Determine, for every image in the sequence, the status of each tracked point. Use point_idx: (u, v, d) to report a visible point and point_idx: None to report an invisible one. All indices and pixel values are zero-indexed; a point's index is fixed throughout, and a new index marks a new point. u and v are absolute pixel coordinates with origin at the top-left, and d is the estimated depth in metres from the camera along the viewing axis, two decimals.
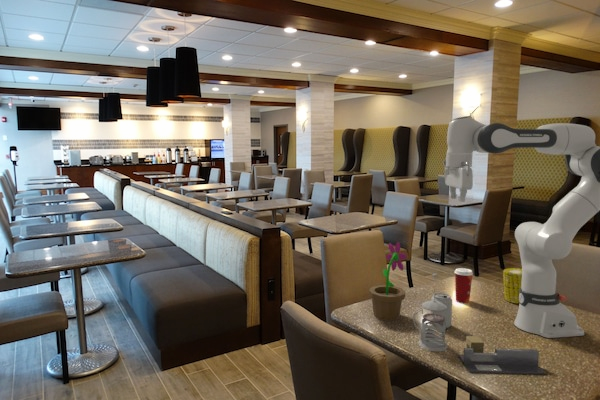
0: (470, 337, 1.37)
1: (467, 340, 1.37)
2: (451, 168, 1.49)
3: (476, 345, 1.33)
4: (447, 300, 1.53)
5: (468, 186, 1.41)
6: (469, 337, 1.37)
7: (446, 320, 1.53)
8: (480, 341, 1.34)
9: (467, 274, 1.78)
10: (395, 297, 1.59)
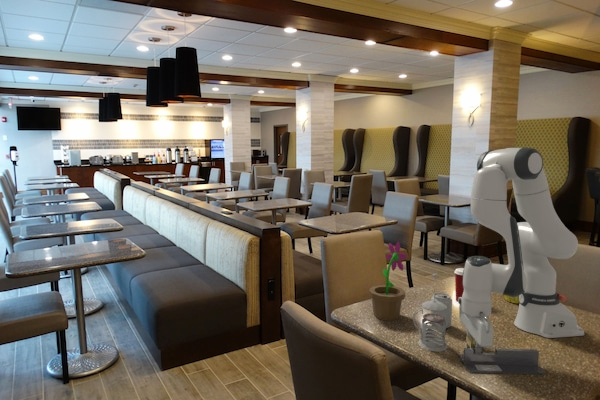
0: (470, 337, 1.37)
1: (467, 340, 1.37)
2: (468, 314, 1.34)
3: None
4: (447, 300, 1.53)
5: (488, 344, 1.25)
6: (469, 337, 1.37)
7: (446, 320, 1.53)
8: None
9: None
10: (395, 297, 1.59)
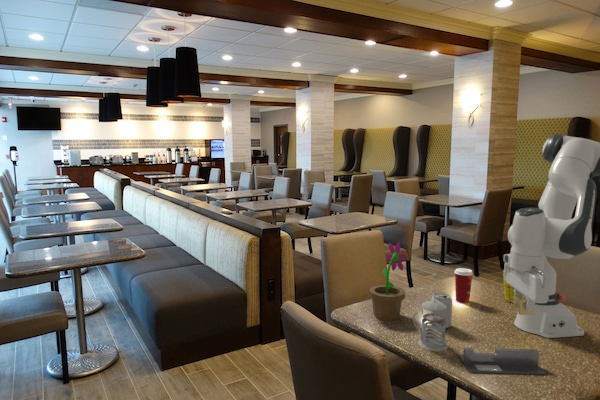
0: (518, 296, 1.26)
1: (515, 299, 1.26)
2: (517, 270, 1.23)
3: None
4: (447, 300, 1.53)
5: (543, 299, 1.15)
6: (517, 296, 1.26)
7: (446, 320, 1.53)
8: None
9: (467, 274, 1.78)
10: (395, 297, 1.59)
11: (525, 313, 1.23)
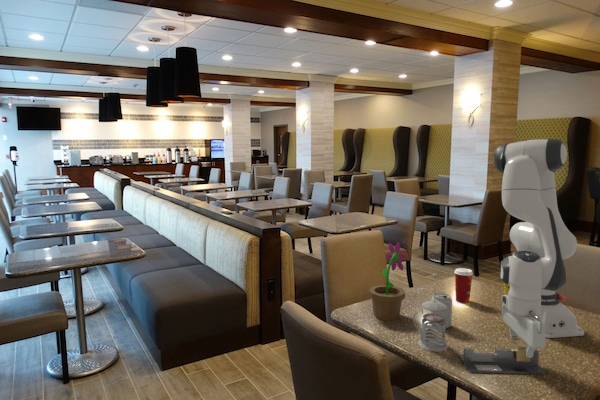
0: (515, 341, 1.28)
1: (512, 344, 1.28)
2: (515, 313, 1.25)
3: (523, 350, 1.25)
4: (447, 300, 1.53)
5: (540, 345, 1.16)
6: (514, 341, 1.28)
7: (446, 320, 1.53)
8: (527, 346, 1.25)
9: (467, 274, 1.78)
10: (395, 297, 1.59)
11: (522, 359, 1.25)
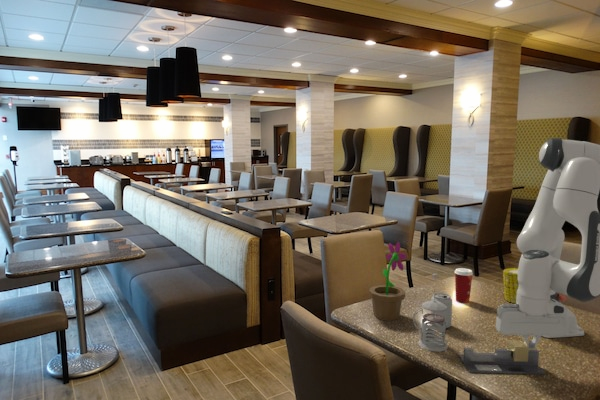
0: (512, 341, 1.28)
1: (509, 345, 1.28)
2: None
3: (520, 350, 1.25)
4: (447, 300, 1.53)
5: (498, 329, 1.26)
6: (511, 341, 1.28)
7: (446, 320, 1.53)
8: (524, 346, 1.25)
9: (467, 274, 1.78)
10: (395, 297, 1.59)
11: (519, 359, 1.25)
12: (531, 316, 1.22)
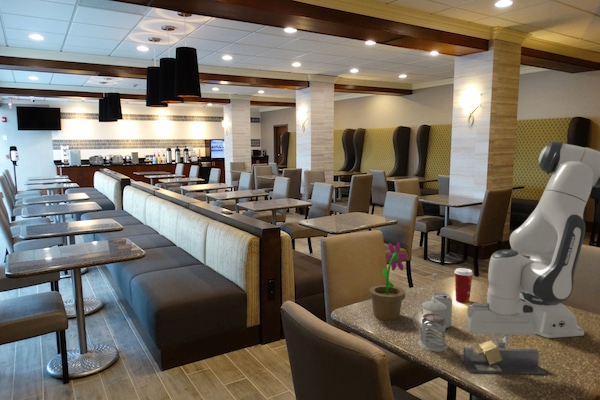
0: (483, 345, 1.29)
1: (481, 349, 1.29)
2: None
3: (491, 353, 1.25)
4: (447, 300, 1.53)
5: (468, 328, 1.26)
6: (482, 345, 1.29)
7: (446, 320, 1.53)
8: (493, 346, 1.26)
9: (467, 274, 1.78)
10: (395, 297, 1.59)
11: (494, 361, 1.25)
12: (501, 315, 1.23)
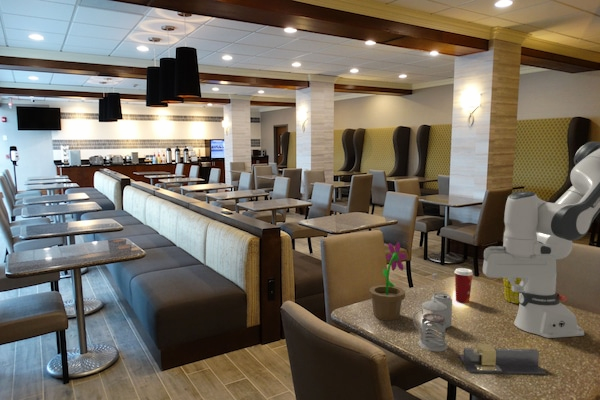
0: (481, 345, 1.29)
1: (478, 348, 1.29)
2: None
3: (488, 354, 1.25)
4: (447, 300, 1.53)
5: (484, 272, 1.24)
6: (480, 345, 1.29)
7: (446, 320, 1.53)
8: (492, 350, 1.26)
9: (467, 274, 1.78)
10: (395, 297, 1.59)
11: (487, 363, 1.26)
12: (518, 257, 1.21)
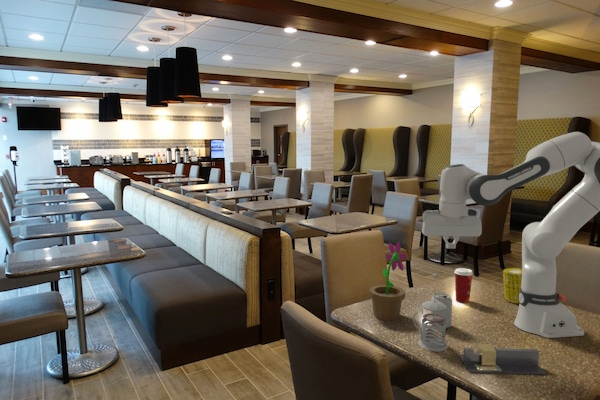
0: (481, 345, 1.29)
1: (478, 348, 1.29)
2: None
3: (488, 354, 1.25)
4: (447, 300, 1.53)
5: (423, 232, 1.48)
6: (480, 345, 1.29)
7: (446, 320, 1.53)
8: (492, 350, 1.26)
9: (467, 274, 1.78)
10: (395, 297, 1.59)
11: (487, 363, 1.26)
12: (449, 219, 1.45)
